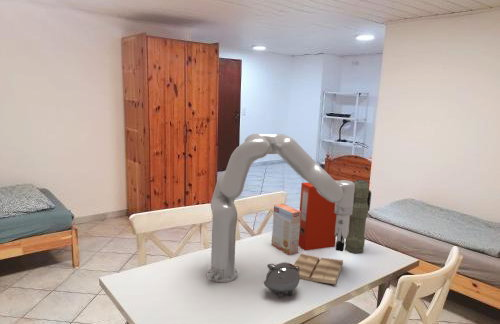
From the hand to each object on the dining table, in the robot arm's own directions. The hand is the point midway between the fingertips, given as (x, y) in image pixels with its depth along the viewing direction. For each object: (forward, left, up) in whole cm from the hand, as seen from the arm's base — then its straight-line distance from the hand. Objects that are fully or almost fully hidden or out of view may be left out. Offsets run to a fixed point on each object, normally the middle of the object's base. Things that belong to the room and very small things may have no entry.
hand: (339, 250), depth 157 cm
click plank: (-6, +3, -8) cm, 11 cm away
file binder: (+20, +14, -9) cm, 26 cm away
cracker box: (+9, +27, -9) cm, 30 cm away
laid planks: (-6, +13, -9) cm, 17 cm away
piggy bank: (-30, +16, -9) cm, 35 cm away
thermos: (+24, -4, -9) cm, 26 cm away
